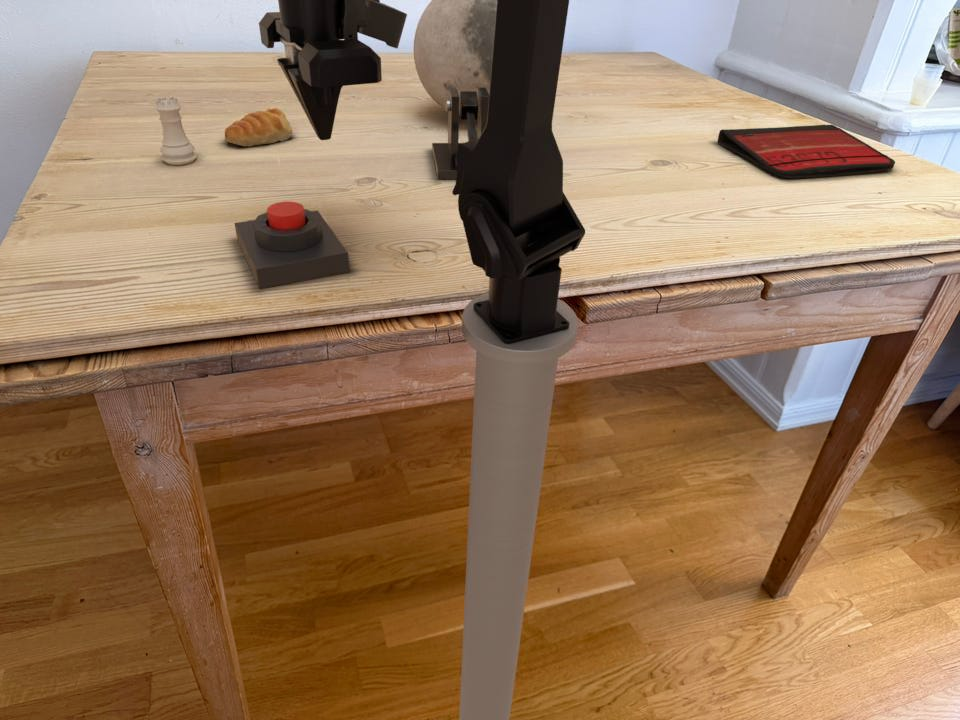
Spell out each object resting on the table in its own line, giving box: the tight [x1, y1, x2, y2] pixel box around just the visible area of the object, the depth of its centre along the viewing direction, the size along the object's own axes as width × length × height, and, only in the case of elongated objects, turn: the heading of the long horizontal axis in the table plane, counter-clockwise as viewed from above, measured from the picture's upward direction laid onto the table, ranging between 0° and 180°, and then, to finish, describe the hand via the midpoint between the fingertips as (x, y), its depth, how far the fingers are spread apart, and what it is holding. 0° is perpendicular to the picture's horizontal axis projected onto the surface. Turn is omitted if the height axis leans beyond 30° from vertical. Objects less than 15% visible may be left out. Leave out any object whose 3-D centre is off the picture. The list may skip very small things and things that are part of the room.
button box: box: [233, 208, 351, 290], centre depth 70 cm, size 11×9×4 cm
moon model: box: [413, 0, 497, 117], centre depth 107 cm, size 20×20×20 cm
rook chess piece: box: [154, 95, 197, 166], centre depth 89 cm, size 4×4×8 cm
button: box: [266, 201, 306, 230], centre depth 68 cm, size 4×4×2 cm
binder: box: [717, 124, 896, 179], centre depth 103 cm, size 16×2×21 cm
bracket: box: [431, 87, 489, 180], centre depth 92 cm, size 11×9×10 cm
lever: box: [456, 91, 479, 166], centre depth 88 cm, size 12×5×2 cm, turn 7°
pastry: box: [224, 107, 293, 148], centre depth 98 cm, size 9×7×4 cm
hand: (324, 138), depth 67 cm, fingers closed
